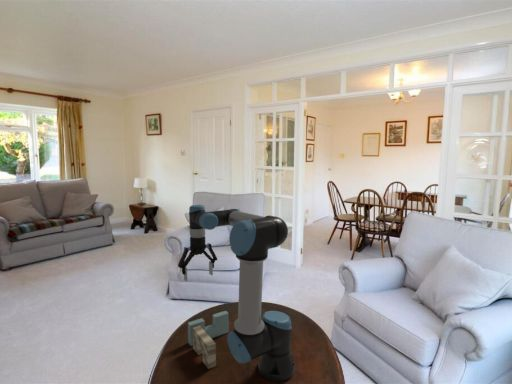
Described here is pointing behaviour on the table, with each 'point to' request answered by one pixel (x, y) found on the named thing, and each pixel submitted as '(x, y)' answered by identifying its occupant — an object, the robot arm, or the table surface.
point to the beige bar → (204, 346)
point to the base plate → (214, 330)
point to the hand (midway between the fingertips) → (198, 277)
